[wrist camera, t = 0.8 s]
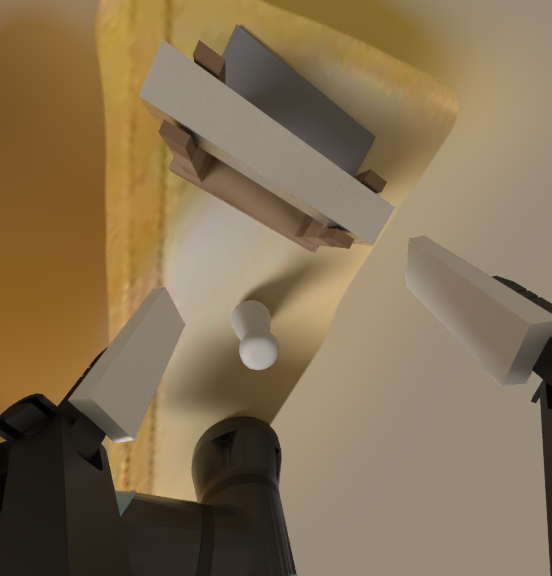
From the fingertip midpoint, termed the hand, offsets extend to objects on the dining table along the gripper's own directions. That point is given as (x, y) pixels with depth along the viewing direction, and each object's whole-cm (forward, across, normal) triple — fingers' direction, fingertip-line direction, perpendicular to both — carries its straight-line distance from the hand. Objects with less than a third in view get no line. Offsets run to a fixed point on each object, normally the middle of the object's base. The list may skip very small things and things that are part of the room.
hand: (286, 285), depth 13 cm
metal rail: (+14, -1, -4) cm, 15 cm away
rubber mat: (+28, -5, -8) cm, 30 cm away
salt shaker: (+19, +7, +15) cm, 25 cm away
